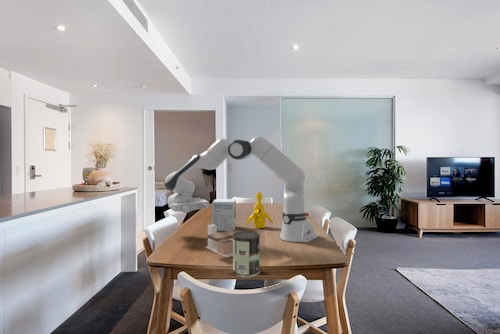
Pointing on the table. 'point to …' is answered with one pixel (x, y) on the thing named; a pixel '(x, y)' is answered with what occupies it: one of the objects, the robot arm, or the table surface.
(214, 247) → the white pillar stand
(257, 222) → the figure statuette
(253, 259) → the coffee can
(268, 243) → the table surface
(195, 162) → the robot arm
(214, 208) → the supplement box
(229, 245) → the cube
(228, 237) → the shelf
